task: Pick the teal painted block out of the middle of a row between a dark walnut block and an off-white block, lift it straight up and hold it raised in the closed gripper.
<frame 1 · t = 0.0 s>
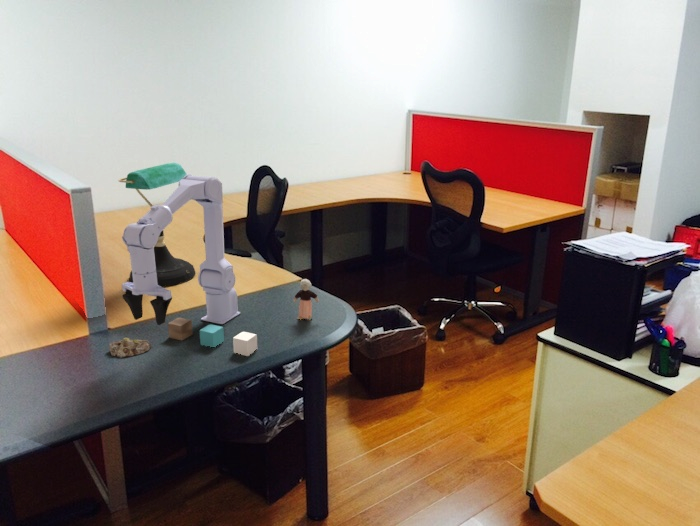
hand: (149, 320, 151), 10 cm above the table, tool pointing down, fingers open, 7 cm apart
grandmother figurine: (306, 319, 178), on the table
banker's lamp: (163, 276, 214), on the table
mineral rock: (130, 352, 157), on the table
walnut block: (181, 336, 166), on the table
white block: (245, 351, 157), on the table
teal block: (212, 343, 161), on the table
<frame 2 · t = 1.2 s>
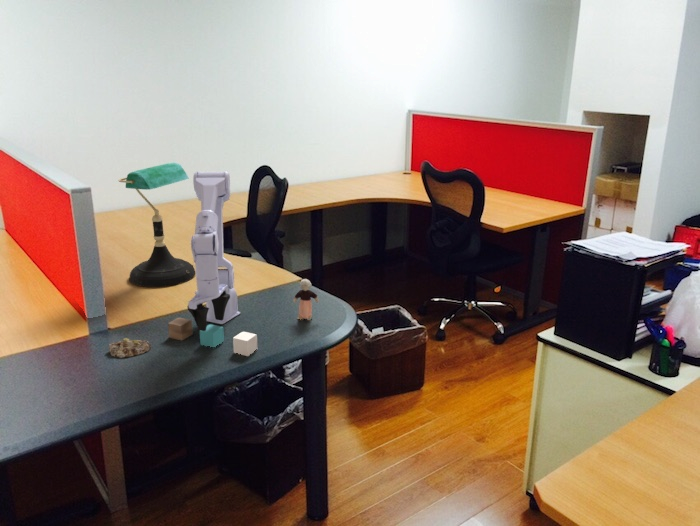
hand: (211, 324, 160), 6 cm above the table, tool pointing down, fingers open, 7 cm apart
nothing on the table moved.
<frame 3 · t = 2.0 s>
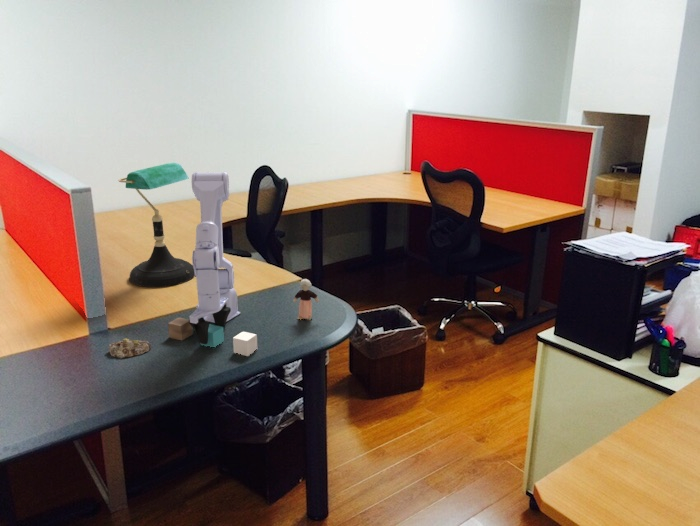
hand: (212, 337, 161), 2 cm above the table, tool pointing down, fingers open, 7 cm apart
nothing on the table moved.
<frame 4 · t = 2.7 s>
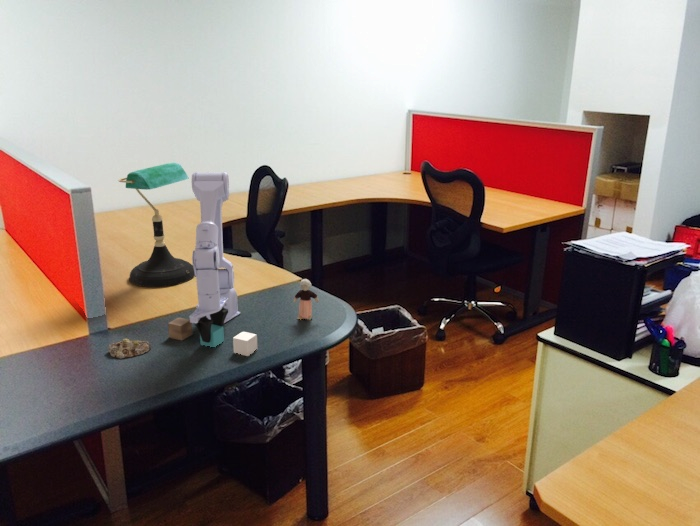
hand: (212, 337, 161), 2 cm above the table, tool pointing down, fingers closed on teal block, 4 cm apart
teal block: (212, 343, 161), on the table, touching gripper
everything else where it was.
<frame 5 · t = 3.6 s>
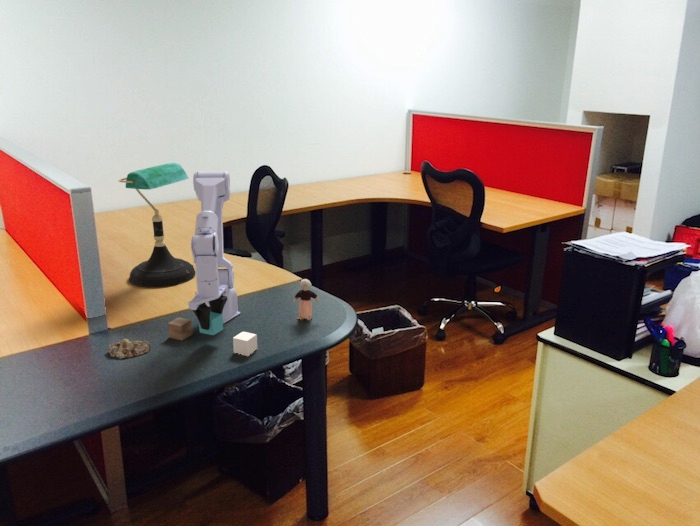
hand: (211, 325, 160), 5 cm above the table, tool pointing down, fingers closed on teal block, 4 cm apart
teal block: (211, 330, 160), point 4 cm above the table, touching gripper
everything else where it was.
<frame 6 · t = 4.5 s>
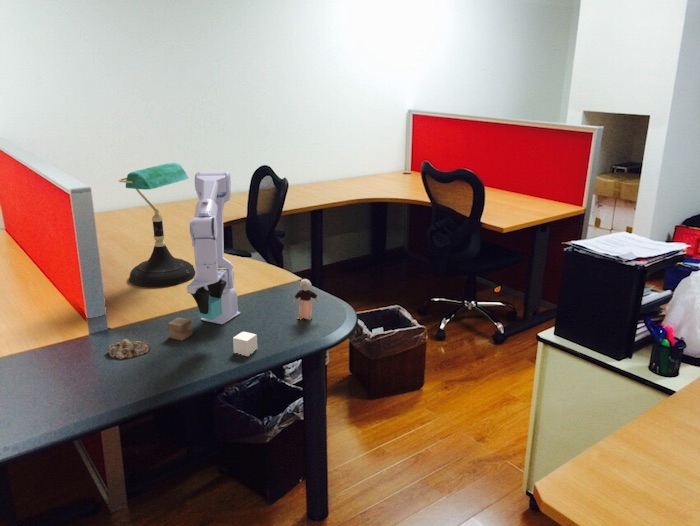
hand: (209, 309, 158), 10 cm above the table, tool pointing down, fingers closed on teal block, 4 cm apart
teal block: (210, 315, 159), point 8 cm above the table, touching gripper
everything else where it was.
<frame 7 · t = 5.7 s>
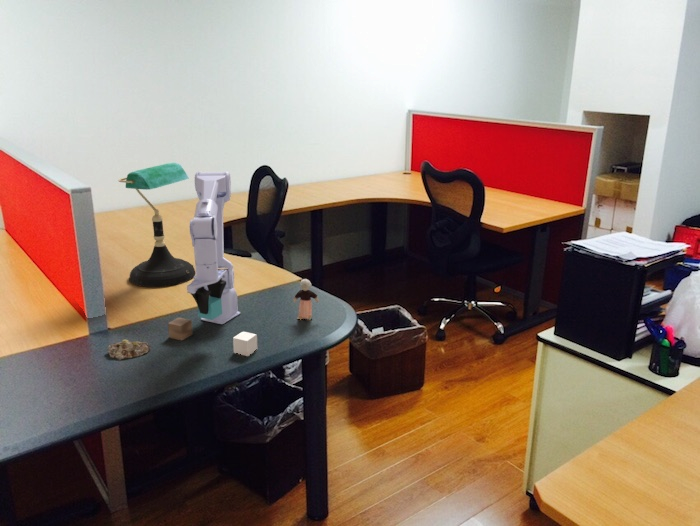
hand: (209, 309, 158), 10 cm above the table, tool pointing down, fingers closed on teal block, 4 cm apart
teal block: (210, 315, 159), point 8 cm above the table, touching gripper
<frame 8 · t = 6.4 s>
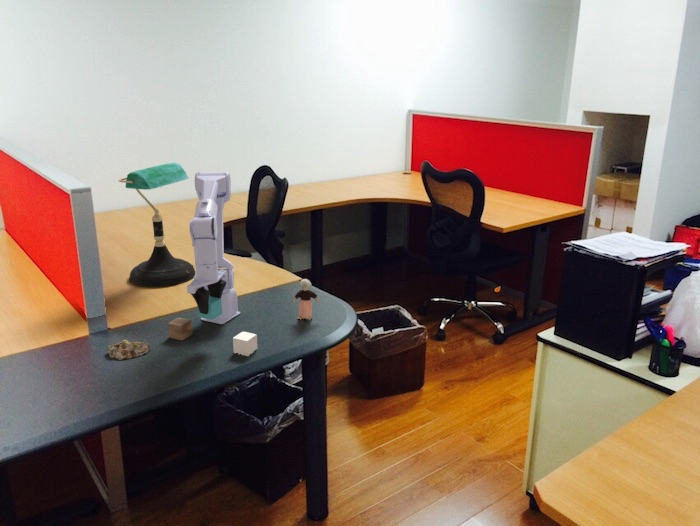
hand: (209, 309, 158), 10 cm above the table, tool pointing down, fingers closed on teal block, 4 cm apart
teal block: (210, 315, 159), point 8 cm above the table, touching gripper
at the end: teal block point 8.2 cm above the table; walnut block moved 0.1 cm from its start; white block moved 0.1 cm from its start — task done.
